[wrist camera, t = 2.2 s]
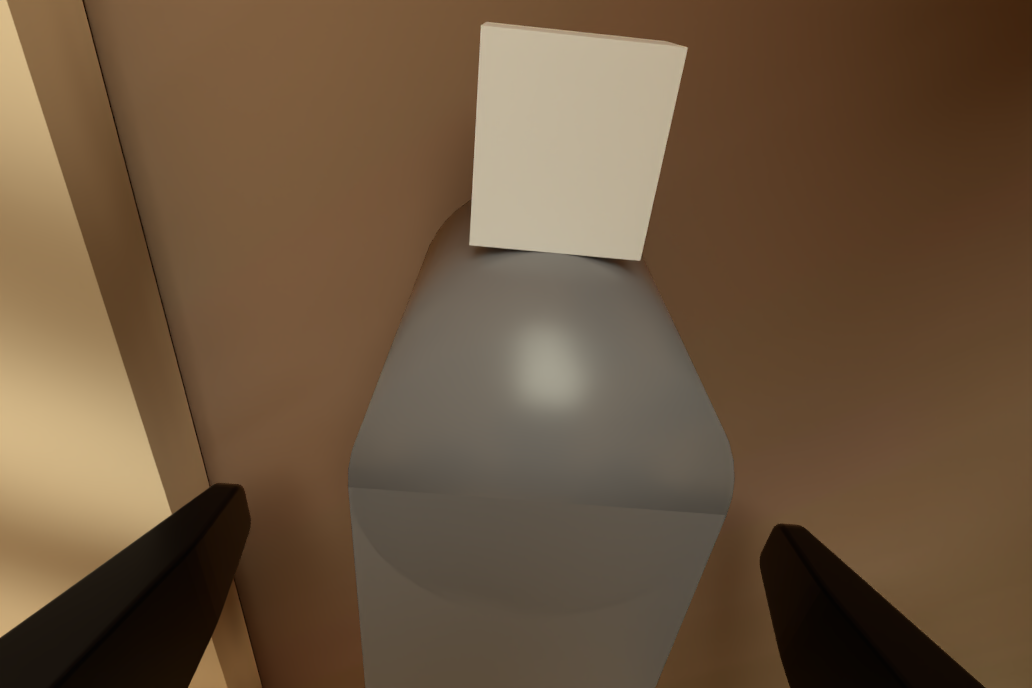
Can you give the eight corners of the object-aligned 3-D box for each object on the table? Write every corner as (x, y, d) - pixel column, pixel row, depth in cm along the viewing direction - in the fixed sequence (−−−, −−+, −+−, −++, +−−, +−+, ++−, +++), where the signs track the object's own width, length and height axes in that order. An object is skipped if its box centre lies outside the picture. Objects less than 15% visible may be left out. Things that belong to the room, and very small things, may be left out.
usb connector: (567, 624, 14) (583, 859, 10) (418, 615, 14) (378, 850, 10) (704, 39, 7) (904, 83, 3) (422, 9, 7) (309, 21, 3)
